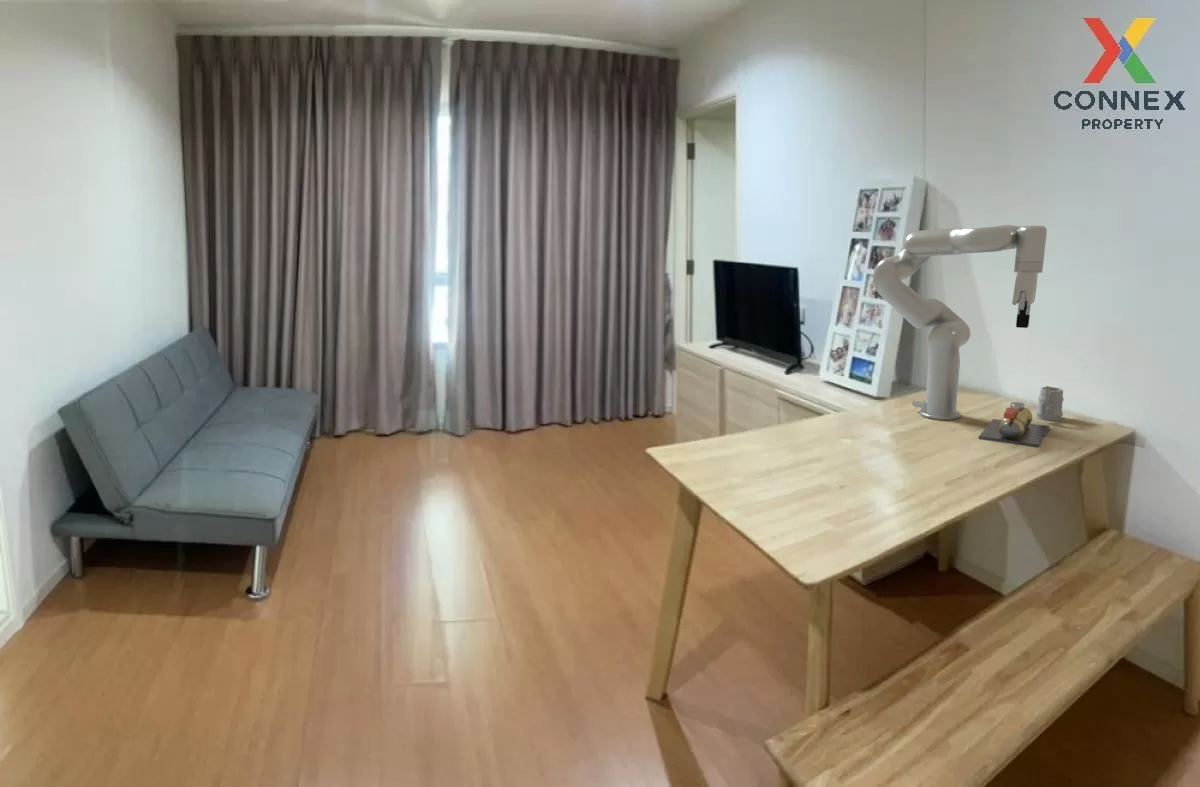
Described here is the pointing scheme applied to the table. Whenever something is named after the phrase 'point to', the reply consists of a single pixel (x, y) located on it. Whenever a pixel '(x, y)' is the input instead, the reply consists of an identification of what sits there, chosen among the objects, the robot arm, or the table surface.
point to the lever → (1013, 409)
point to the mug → (1050, 404)
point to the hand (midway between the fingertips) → (1022, 327)
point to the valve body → (1016, 430)
